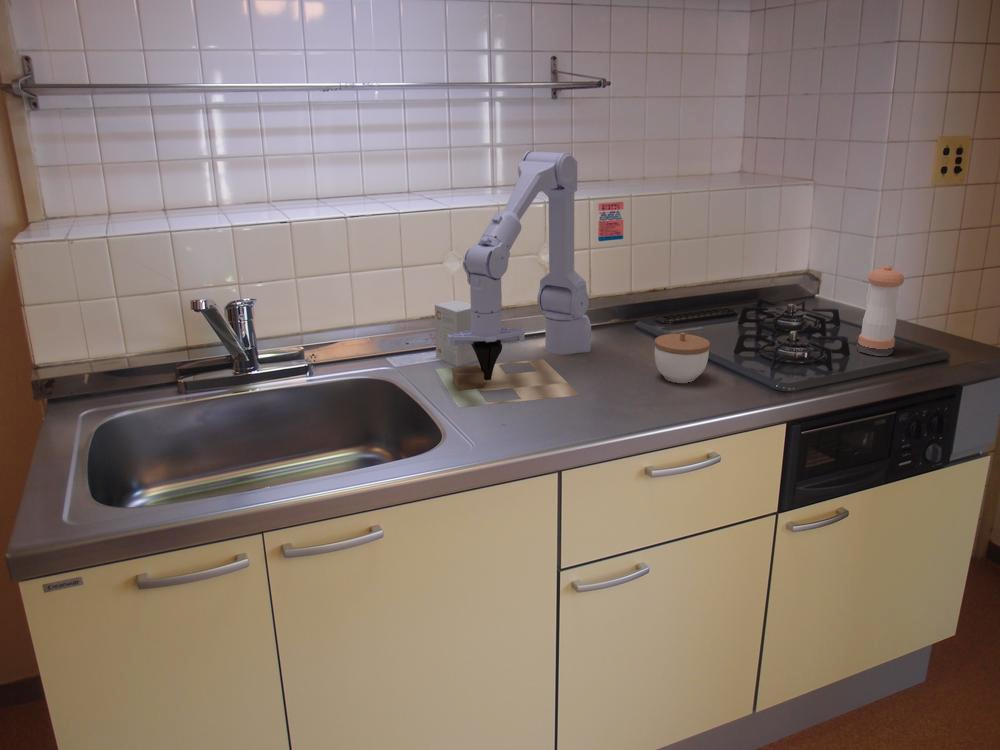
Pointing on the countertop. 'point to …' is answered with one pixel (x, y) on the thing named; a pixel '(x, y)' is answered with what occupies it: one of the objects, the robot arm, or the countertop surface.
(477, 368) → the block
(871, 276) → the pepper shaker
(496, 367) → the board
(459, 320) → the small box
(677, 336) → the lidded jar
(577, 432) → the countertop surface
